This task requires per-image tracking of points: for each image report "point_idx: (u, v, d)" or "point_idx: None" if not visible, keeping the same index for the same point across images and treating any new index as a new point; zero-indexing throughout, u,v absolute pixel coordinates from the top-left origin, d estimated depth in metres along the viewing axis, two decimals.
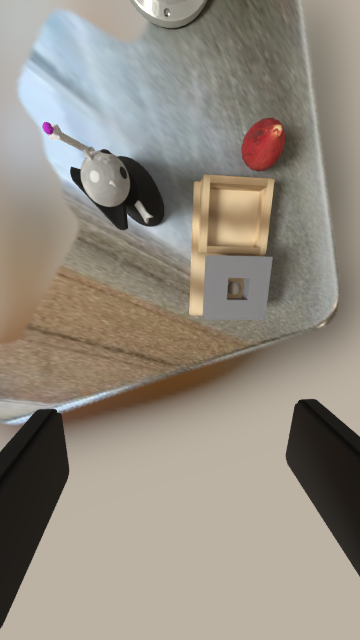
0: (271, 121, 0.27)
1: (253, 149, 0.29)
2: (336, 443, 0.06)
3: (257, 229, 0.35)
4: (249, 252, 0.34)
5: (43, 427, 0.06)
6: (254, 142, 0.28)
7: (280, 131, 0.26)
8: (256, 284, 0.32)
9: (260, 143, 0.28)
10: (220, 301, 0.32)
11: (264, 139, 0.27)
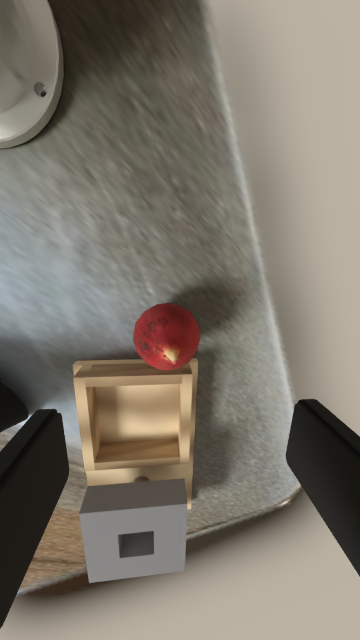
0: (163, 332, 0.15)
1: (143, 357, 0.17)
2: (336, 443, 0.06)
3: None
4: (163, 464, 0.22)
5: (43, 427, 0.06)
6: (141, 352, 0.16)
7: (174, 361, 0.14)
8: (165, 536, 0.20)
9: (149, 359, 0.16)
10: (110, 561, 0.20)
11: (153, 358, 0.16)
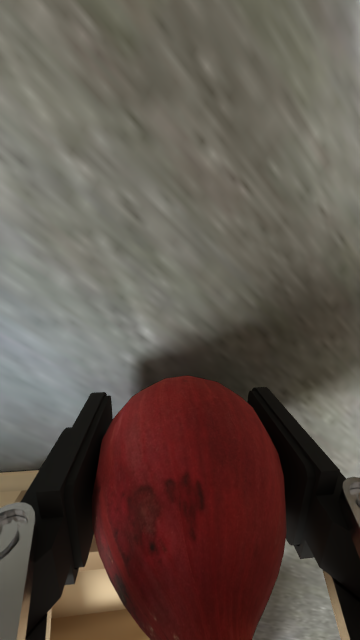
0: (187, 561, 0.04)
1: None
2: (273, 423, 0.07)
3: None
4: None
5: (101, 406, 0.07)
6: None
7: None
8: None
9: None
10: None
11: None
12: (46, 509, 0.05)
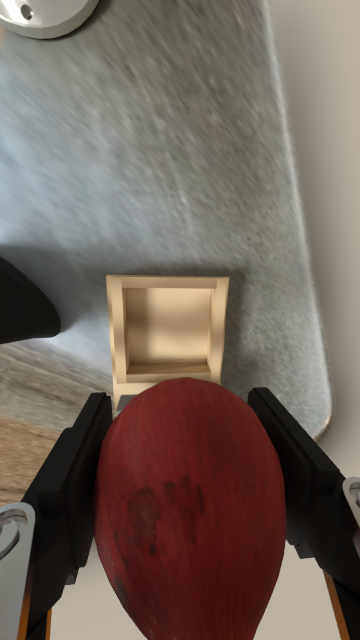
0: (187, 564, 0.04)
1: None
2: (273, 423, 0.07)
3: (208, 339, 0.23)
4: None
5: (101, 406, 0.07)
6: None
7: None
8: None
9: None
10: None
11: None
12: (46, 509, 0.05)
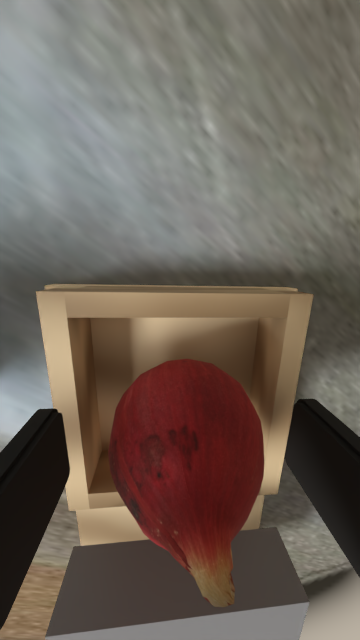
0: (185, 483, 0.05)
1: None
2: (335, 443, 0.06)
3: None
4: None
5: (44, 426, 0.06)
6: None
7: None
8: None
9: (144, 533, 0.06)
10: None
11: (156, 542, 0.06)
12: None
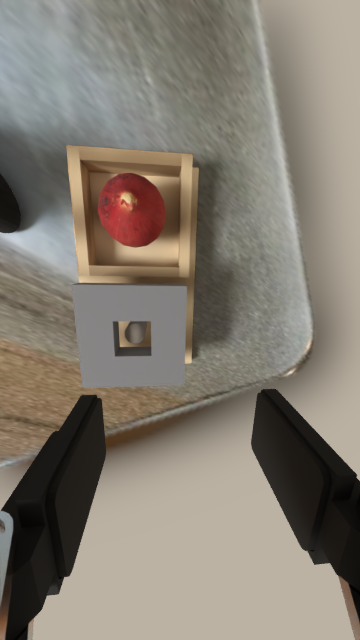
0: (122, 183, 0.15)
1: (106, 223, 0.17)
2: (284, 426, 0.07)
3: (178, 237, 0.22)
4: (161, 275, 0.21)
5: (90, 409, 0.07)
6: (103, 214, 0.16)
7: (130, 204, 0.14)
8: (163, 331, 0.19)
9: (110, 217, 0.16)
10: (104, 359, 0.19)
11: (113, 212, 0.16)
12: (27, 518, 0.05)
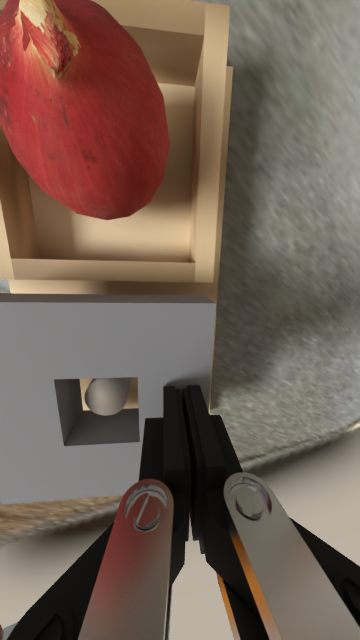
0: None
1: (16, 147, 0.07)
2: (189, 420, 0.07)
3: (192, 207, 0.12)
4: (160, 278, 0.11)
5: (178, 398, 0.08)
6: (1, 114, 0.06)
7: (47, 34, 0.04)
8: None
9: (11, 116, 0.06)
10: (42, 452, 0.09)
11: (14, 96, 0.05)
12: (170, 485, 0.05)
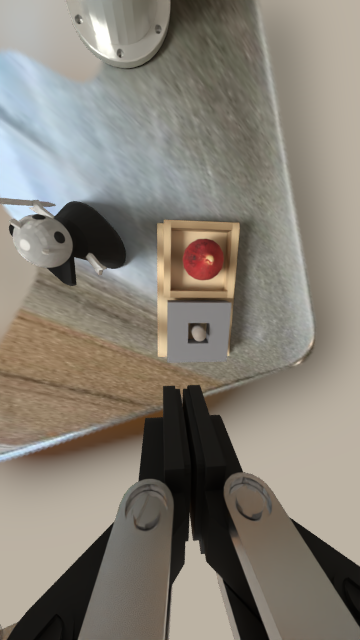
0: (205, 248, 0.26)
1: (190, 268, 0.28)
2: (189, 420, 0.07)
3: (225, 271, 0.33)
4: (215, 296, 0.32)
5: (178, 398, 0.08)
6: (190, 263, 0.28)
7: (212, 262, 0.26)
8: (216, 328, 0.32)
9: (195, 266, 0.27)
10: (181, 345, 0.33)
11: (198, 264, 0.27)
12: (170, 485, 0.05)
